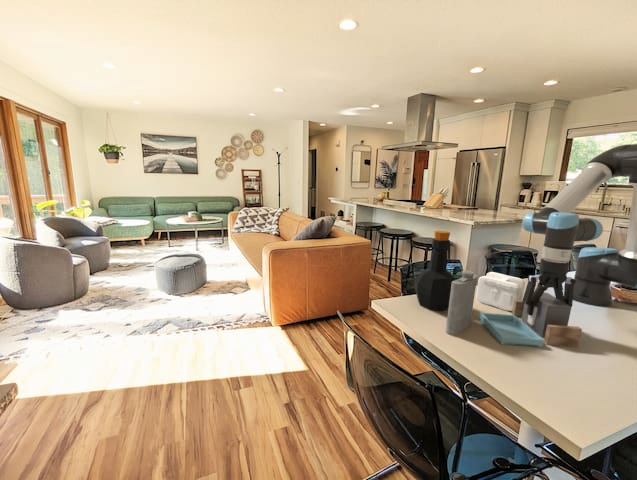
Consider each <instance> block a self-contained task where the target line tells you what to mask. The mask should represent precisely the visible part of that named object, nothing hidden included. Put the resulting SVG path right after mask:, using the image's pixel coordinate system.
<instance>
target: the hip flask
mask: <svg viewBox="0 0 637 480" xmlns="http://www.w3.org/2000/svg"><path fill="white" fill-rule="evenodd" d="M461 274H462V275H461V277H460V278H458V279H455V281H452V285H451V293H450V301H449V309H447V319H446V327H445V333H446V334H447V335H449V336H456V335H458V334H460V333H462V332H463V331H465V330H466V329H467V328H468V327H469V326H470V325H471V322H472V316H473V309H474V302H475V301H474V300H475V296H476V289H477V283H478V281H477V279H478V274H476V273H475V272H474V271H472V270H462V271H461Z"/></svg>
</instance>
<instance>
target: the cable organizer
mask: <svg viewBox="0 0 637 480" xmlns="http://www.w3.org/2000/svg"><path fill="white" fill-rule="evenodd" d="M477 279H478V281H477V285H476V291H475V298H476V300H477V301H478V302H480V303H481V304H483V305H487V306H493V307H496V308H498V309H500V310H502V309H503V311H507V312H512V311H513V305H514V300H523V297H524V293H525V289H526V282H525V280H524V279H522V278H520V277H516V276H512V275H507V274H504V273H499V272H496V271H495V272H494V271H490V272H487V273H486V275H483V276H479V278H477Z"/></svg>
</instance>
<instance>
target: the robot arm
mask: <svg viewBox="0 0 637 480" xmlns="http://www.w3.org/2000/svg"><path fill="white" fill-rule="evenodd" d="M620 177H625V178H628V184H629V185H631V186H632V187H633V190H632V191H633V192H632V198H631V205H630V212H629V213H630V214H629V220H628V226H627V235H626V243H625V248H624V249H622V250H620V251H619V249H616V248H614V247H613V248H610V247H598V246H597V247H595V246H591V247H590V246H589V247H582V248H581V249H580V251H579V254H578V256H577V258H578V259H577V262H576V263H577V264H576V269H575V274H574V277H573V278H572V277H570V276H567V274H568V273H569V269H570V261H571V258H572V255H573V254H572V253H573V249H574V244H575V242H589V241H594V240H596V239H598V238H600V236H601V235H602V234H603V232H604V227H603V224H602V223H601V222H600V221H599V220H598V219H596V218H593V217H584V218H581V217H579V214H577V213H573V211H574V210H575V209H576V208H577V207H578V206H579V205H580V204H581V203H582V202H583V201H584V200H586V199H587V198H588V197H589V196H590V195H591V194H592V193H593V192H594V191H595V190H596V189H597V188H598V187H600V186H601V184H605V183H607V182H609V181H610V180H611V179H614V178H620ZM521 224H522V227H523V229H524V230H525V232H529V233H532V234H538V235H545V237H544V241H543V245H542V251H541V255H540V256H541V259H540V262H539V268H538V269H539V271H538V273H537V274H536V275H531V274H528V275H527V281H528V282H527V285H526V286H525V289H524V293H523V299H522V301H523V302H524V303H525V304H527V305H528V308H527V314H528V321H527V322H528V323H529V324H531V325H532V326H534V324H535V318H536V313H537V307H536V304H537V303H538V301H539V299H540V298H541V296H542V295H543V293H545V292H546V291H547V290H549V288H553V292H554V297H555V298H557V299H558V300H560V301H562V302H564V303H566V304H567V305H569V306H571V308H572V307H573V301H576V302H579V303H583V304H587V305H593V306H597V307H599V306H600V307H609V306H612V304H613V297H612V292H611V290H612V289H611V282H612V283H615V284H618V285H623V286H627V287H630V288H634V289H635V290H637V143H636V144H635V143H634V144H633V143H632V144H628V143H627V144H621V145H617V146H615V147H613V148H612V147H611V148H609V149H607V150H605V151H603V152H602V153H600V154H598V155H597V156H594V157H593V158H592V159H591V160H590V161H588V162H586V164H585V165H584V166H583V167H582V168H581V172H580V173H579V174H578V175H577V176H576V177H575V178H574V179H572V181H570V183H568V185H566V186H565V187H564V188H563V189H561V191H560V192H559V193H558V194H556V196H554V197H553V198H552V199H551V200H550V201H549V202H548V203H547V204H545V206H544V207H543V208H542V209H541V210H539V211H538V212H537V211H533V212H528V213H527V214H525V215H524V217H523V219H522V223H521ZM538 280H539V281H538ZM563 284H564V287H563Z"/></svg>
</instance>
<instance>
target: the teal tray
mask: <svg viewBox="0 0 637 480" xmlns="http://www.w3.org/2000/svg"><path fill="white" fill-rule="evenodd" d="M477 319H478V320H479V322H480V323H481V324H482V325H483V326H484V327H485V328H486V329H487V331H488V332H489V333H490V334H491V335H492V336H493V337H494V338H495V339H496V341H498V343H499V345H506V346H508V345H509V346H519V347H520V346H521V347H534V348H535V347H536V348H543V345H544V339H543V337H541V336H540V335H539V334H537V333H536V332H535V331H534V330H533V329H532V328H530V327H529V326H528V325H527V324H526V323H524V322H523V321H522V319H519V317H516V316H515V315H512V314H506V313H505V314H503V313H502V314H501V313H490V312H478V318H477Z"/></svg>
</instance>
